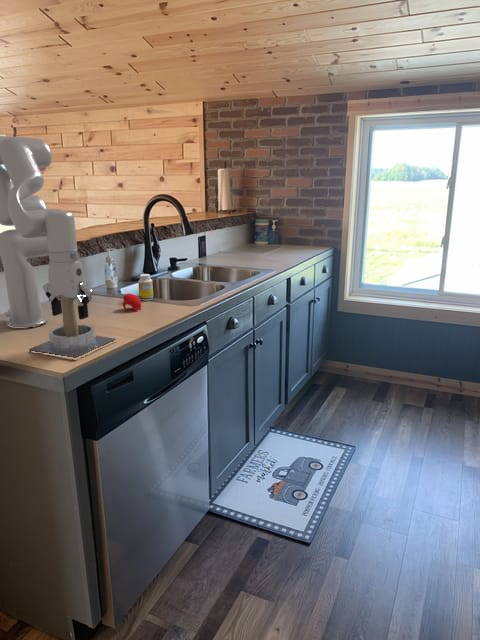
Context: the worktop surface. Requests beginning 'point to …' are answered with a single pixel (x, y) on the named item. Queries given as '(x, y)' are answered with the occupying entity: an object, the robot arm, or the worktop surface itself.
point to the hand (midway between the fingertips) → (70, 316)
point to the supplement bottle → (145, 287)
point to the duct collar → (72, 342)
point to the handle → (69, 316)
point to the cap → (132, 301)
